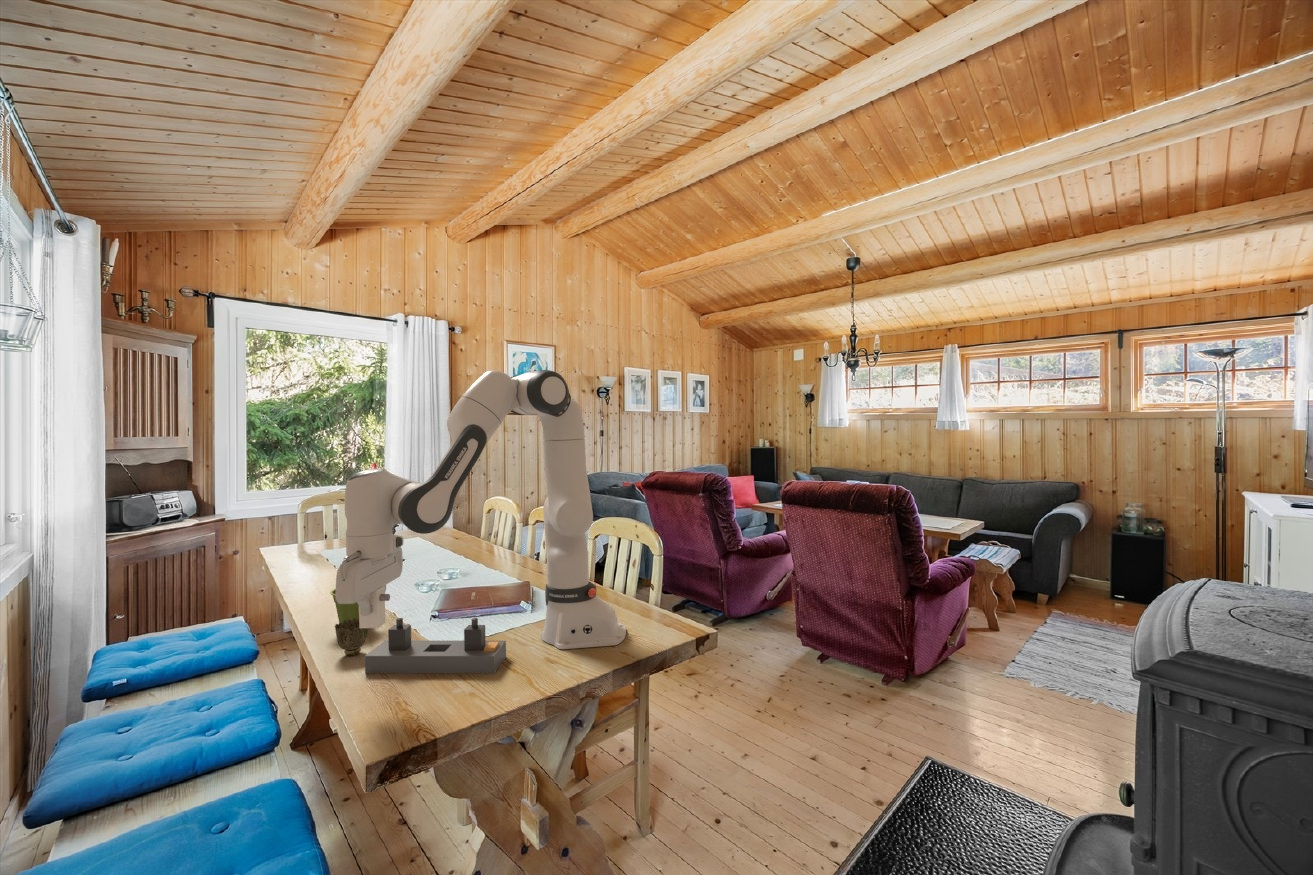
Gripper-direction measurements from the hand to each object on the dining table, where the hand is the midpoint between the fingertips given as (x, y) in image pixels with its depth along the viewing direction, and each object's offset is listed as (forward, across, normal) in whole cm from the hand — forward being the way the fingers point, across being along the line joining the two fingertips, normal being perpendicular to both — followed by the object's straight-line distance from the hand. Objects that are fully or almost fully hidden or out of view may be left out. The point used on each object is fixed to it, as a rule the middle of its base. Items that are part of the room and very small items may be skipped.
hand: (372, 610), depth 117 cm
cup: (+18, +20, +16) cm, 31 cm away
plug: (+3, 0, 0) cm, 3 cm away
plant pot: (+18, +37, +25) cm, 48 cm away
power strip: (+18, +14, -8) cm, 24 cm away
